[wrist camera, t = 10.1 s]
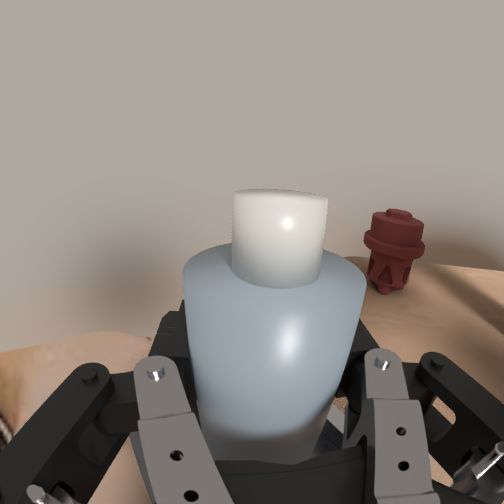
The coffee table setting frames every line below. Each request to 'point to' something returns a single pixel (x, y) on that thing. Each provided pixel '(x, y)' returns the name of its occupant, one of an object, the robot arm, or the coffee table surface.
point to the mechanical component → (393, 248)
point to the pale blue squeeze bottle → (270, 328)
